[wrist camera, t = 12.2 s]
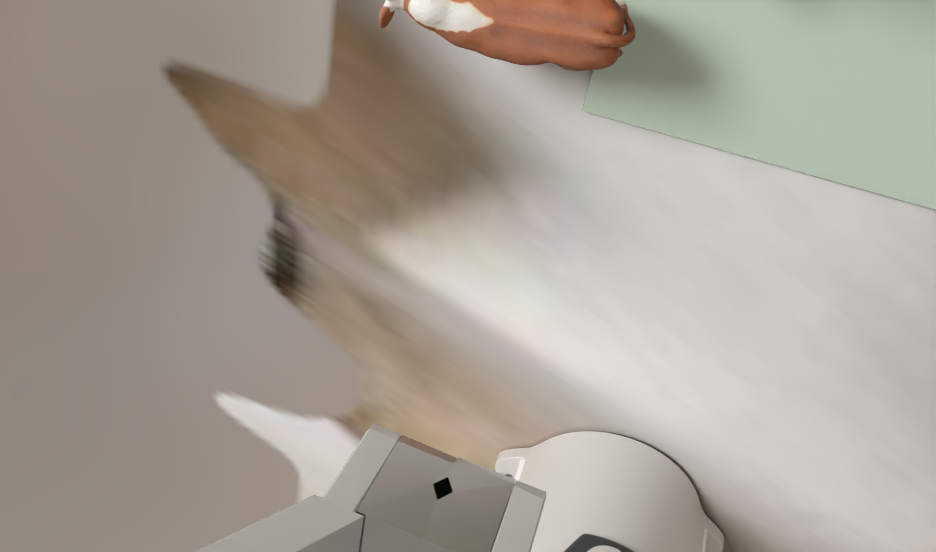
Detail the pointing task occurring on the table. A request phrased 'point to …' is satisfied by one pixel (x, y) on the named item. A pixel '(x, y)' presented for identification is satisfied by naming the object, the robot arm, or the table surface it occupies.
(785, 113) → the mat
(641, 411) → the table surface
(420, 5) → the bull figurine
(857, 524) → the table surface
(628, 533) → the robot arm
